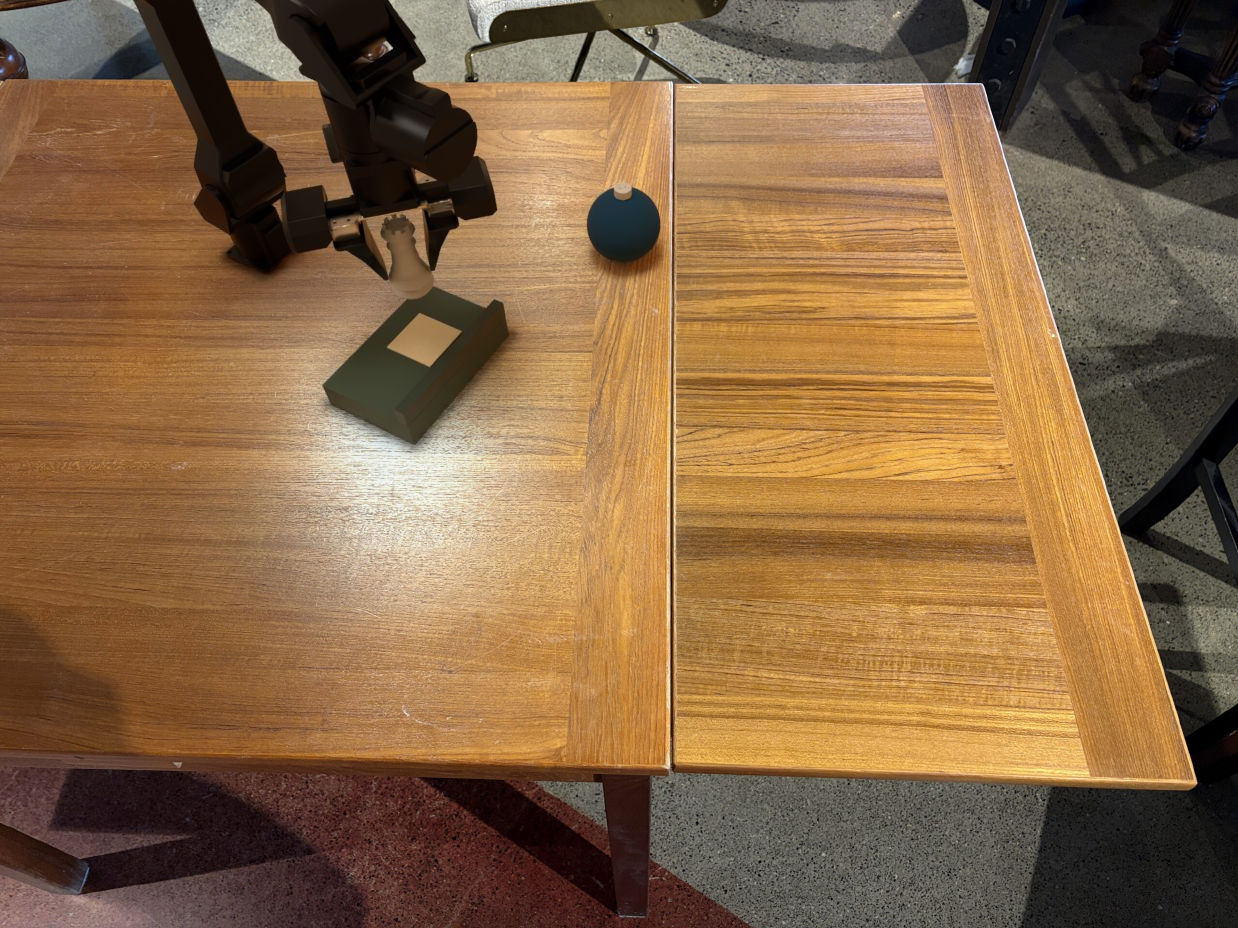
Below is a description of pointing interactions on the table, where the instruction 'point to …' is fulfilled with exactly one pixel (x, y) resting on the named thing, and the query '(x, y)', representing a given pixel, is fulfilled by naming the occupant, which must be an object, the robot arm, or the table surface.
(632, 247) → the christmas ornament
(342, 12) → the robot arm
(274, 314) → the table surface
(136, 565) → the table surface
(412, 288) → the rook chess piece
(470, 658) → the table surface
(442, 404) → the green platform
